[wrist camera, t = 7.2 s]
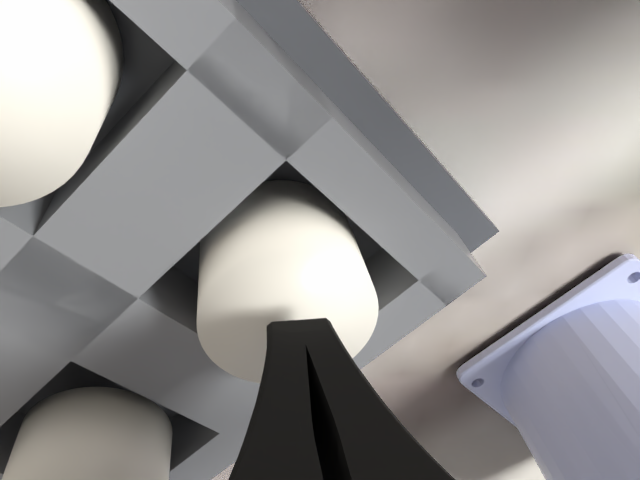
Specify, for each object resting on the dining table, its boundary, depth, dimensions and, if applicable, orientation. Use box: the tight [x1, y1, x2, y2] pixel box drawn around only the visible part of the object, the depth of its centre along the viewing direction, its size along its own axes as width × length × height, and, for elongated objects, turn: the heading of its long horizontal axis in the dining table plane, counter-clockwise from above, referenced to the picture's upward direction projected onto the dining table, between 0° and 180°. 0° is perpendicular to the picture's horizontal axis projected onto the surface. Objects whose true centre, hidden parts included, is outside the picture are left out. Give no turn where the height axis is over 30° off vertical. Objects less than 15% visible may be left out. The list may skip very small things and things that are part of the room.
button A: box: [197, 180, 379, 383], centre depth 14 cm, size 4×4×3 cm
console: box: [0, 0, 499, 480], centre depth 14 cm, size 18×18×3 cm
